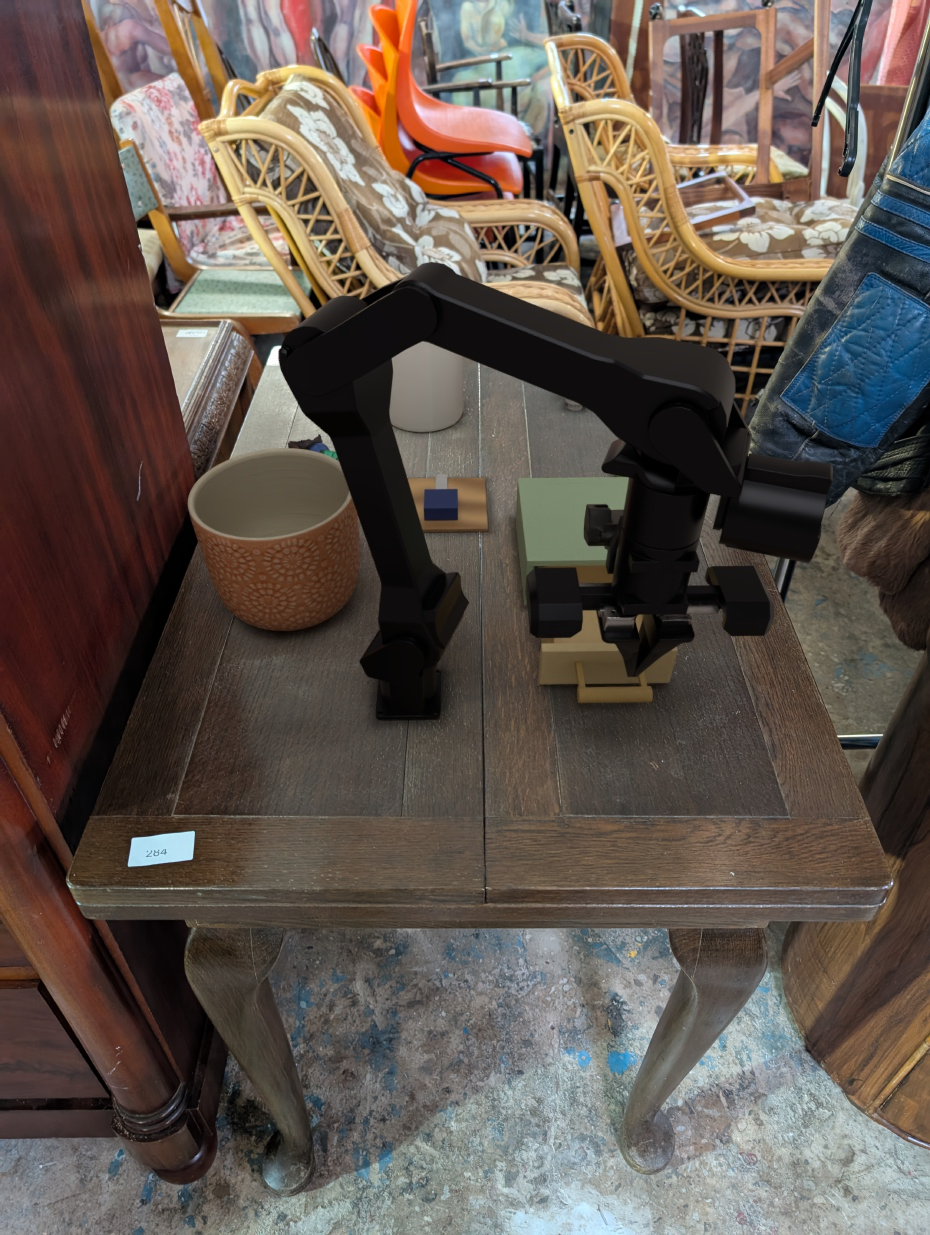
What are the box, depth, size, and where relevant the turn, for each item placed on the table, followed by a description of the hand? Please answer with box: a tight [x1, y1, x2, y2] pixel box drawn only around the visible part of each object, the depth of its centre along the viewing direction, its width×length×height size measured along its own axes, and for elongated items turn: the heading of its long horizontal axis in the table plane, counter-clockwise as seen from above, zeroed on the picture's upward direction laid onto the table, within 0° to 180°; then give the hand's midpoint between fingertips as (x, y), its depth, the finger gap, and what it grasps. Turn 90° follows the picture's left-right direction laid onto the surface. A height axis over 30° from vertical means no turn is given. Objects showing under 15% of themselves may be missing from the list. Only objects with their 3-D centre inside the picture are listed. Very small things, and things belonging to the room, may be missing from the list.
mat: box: [407, 477, 489, 533], centre depth 106 cm, size 12×12×1 cm
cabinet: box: [515, 476, 629, 606], centre depth 95 cm, size 17×15×7 cm
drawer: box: [536, 565, 679, 704], centre depth 84 cm, size 20×13×5 cm, turn 1°
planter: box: [187, 447, 361, 632], centre depth 87 cm, size 17×17×15 cm
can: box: [390, 341, 465, 433], centre depth 118 cm, size 12×12×20 cm
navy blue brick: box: [424, 473, 458, 521], centre depth 106 cm, size 10×4×2 cm, turn 1°
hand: (631, 673), depth 69 cm, fingers closed
